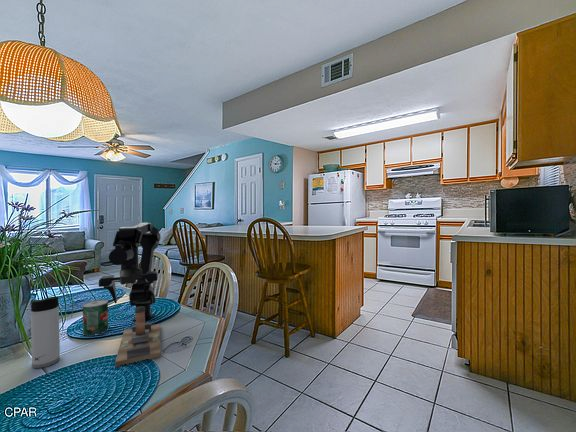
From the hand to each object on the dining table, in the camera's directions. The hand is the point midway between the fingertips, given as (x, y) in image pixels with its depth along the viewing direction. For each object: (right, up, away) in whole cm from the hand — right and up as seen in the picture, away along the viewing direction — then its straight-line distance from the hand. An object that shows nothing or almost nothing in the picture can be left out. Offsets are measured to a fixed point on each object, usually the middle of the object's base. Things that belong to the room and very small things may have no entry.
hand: (130, 301), depth 100 cm
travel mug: (-14, -13, -20) cm, 27 cm away
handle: (+9, -10, -10) cm, 17 cm away
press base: (+9, -12, -9) cm, 17 cm away
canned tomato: (-14, -12, +1) cm, 19 cm away
